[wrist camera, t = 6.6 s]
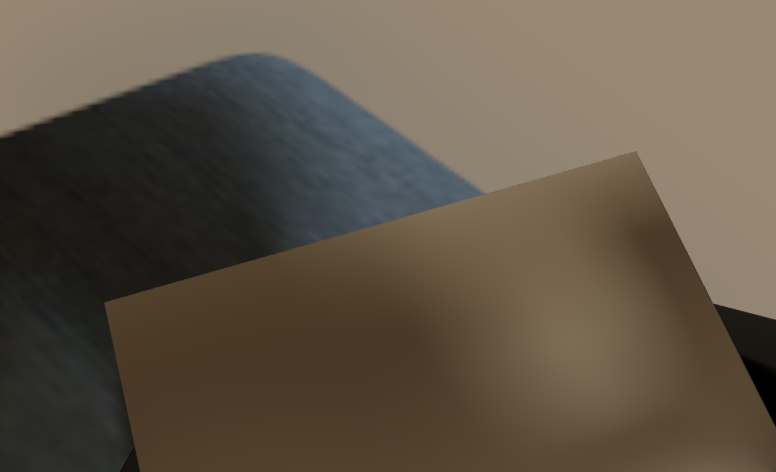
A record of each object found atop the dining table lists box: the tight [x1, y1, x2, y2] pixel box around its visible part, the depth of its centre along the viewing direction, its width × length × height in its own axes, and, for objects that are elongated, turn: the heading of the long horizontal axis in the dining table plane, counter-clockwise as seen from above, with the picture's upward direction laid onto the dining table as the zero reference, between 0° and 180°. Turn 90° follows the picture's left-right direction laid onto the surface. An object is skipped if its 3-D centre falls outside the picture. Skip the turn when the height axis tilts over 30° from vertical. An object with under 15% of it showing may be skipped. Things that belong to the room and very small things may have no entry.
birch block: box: [104, 151, 776, 472], centre depth 10 cm, size 5×6×10 cm
